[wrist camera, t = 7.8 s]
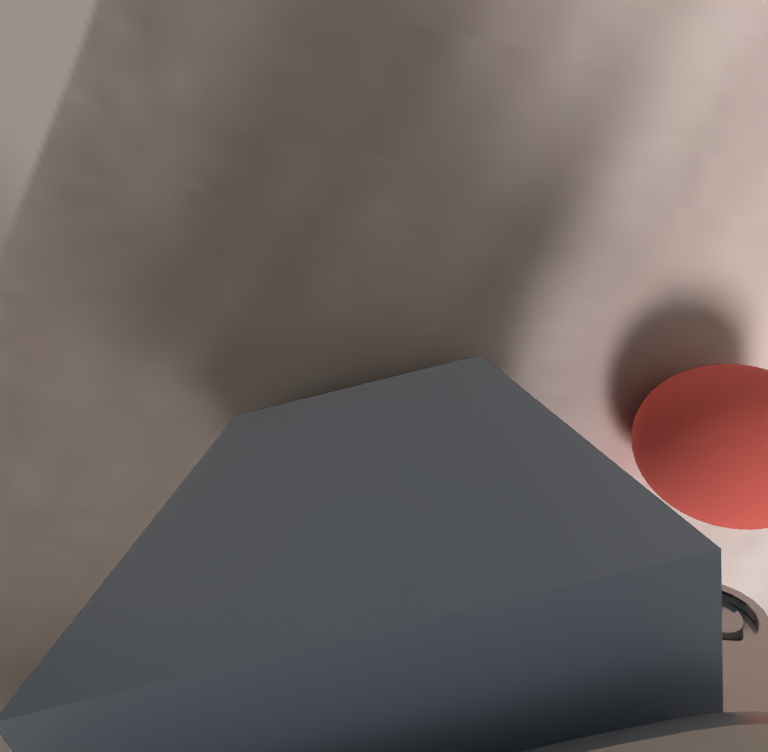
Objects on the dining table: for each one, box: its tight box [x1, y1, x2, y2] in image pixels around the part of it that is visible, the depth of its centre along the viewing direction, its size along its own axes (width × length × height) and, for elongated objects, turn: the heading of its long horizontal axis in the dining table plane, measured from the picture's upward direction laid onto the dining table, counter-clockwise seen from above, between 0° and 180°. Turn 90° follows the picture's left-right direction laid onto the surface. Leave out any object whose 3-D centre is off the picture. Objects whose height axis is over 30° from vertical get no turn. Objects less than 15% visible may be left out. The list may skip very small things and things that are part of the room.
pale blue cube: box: [0, 355, 723, 752], centre depth 10 cm, size 8×8×9 cm
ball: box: [631, 364, 768, 530], centre depth 13 cm, size 5×5×5 cm
